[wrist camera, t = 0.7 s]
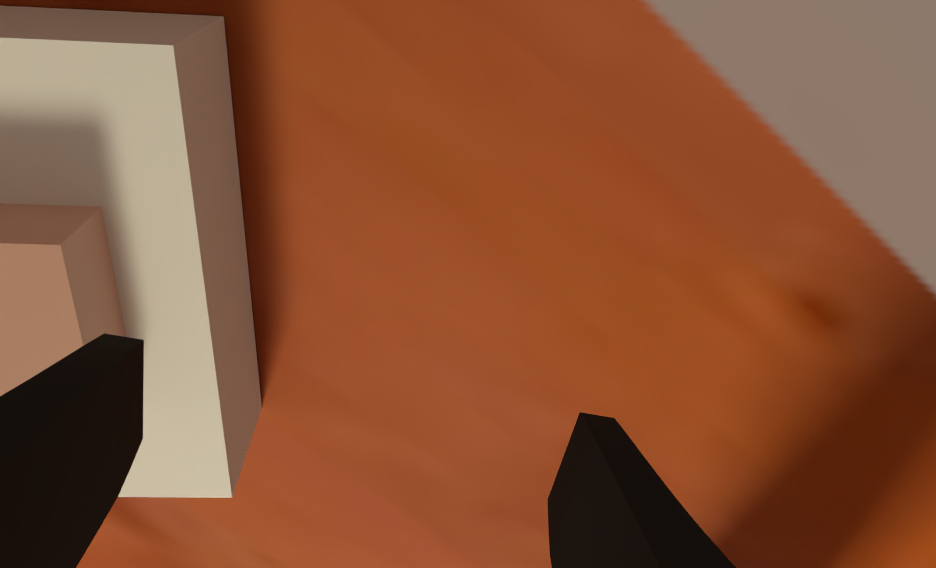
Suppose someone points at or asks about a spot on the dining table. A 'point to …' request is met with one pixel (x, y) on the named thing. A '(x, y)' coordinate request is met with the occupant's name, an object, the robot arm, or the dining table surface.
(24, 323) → the block
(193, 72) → the cream square platform
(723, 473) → the dining table surface
